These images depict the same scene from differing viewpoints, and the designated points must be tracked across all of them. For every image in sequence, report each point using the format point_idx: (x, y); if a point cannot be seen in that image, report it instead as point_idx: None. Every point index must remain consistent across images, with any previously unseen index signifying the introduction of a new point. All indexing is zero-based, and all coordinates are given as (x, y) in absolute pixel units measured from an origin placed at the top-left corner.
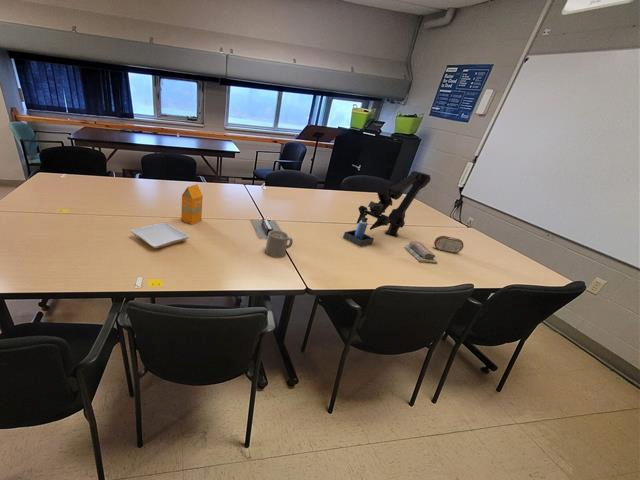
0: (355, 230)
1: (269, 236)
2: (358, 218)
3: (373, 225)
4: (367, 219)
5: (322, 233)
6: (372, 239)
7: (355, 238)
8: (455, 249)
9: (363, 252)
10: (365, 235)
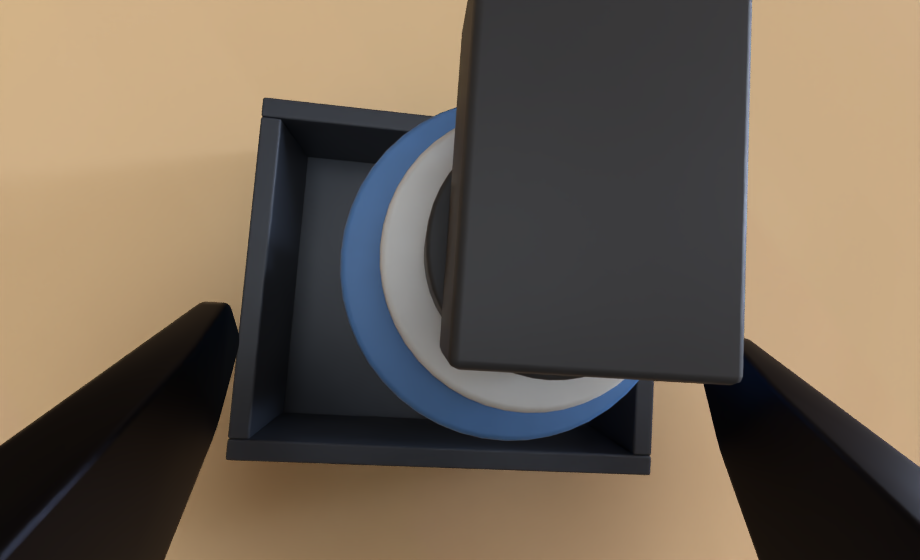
0: (634, 419)
1: None
2: (890, 446)
3: (76, 410)
4: (445, 353)
5: (822, 38)
6: (236, 422)
7: (411, 118)
8: None
9: (165, 50)
10: (413, 440)
